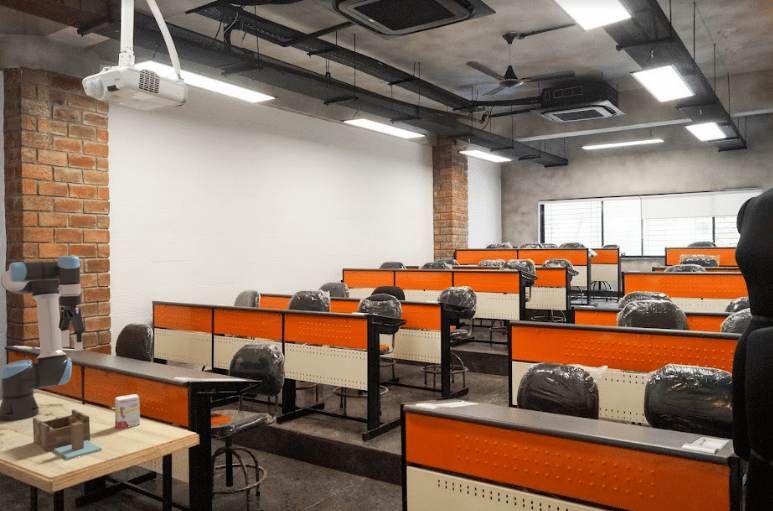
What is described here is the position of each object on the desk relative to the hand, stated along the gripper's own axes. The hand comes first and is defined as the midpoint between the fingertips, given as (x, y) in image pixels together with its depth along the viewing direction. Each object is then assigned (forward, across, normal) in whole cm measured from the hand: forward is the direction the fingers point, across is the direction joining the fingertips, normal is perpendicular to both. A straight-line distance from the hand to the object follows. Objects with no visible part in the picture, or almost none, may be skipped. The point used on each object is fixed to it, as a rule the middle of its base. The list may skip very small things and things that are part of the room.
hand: (72, 348), depth 226 cm
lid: (+33, +25, -8) cm, 42 cm away
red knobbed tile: (+33, -3, -5) cm, 34 cm away
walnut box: (+33, +10, -8) cm, 35 cm away
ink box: (+33, +11, +16) cm, 38 cm away
